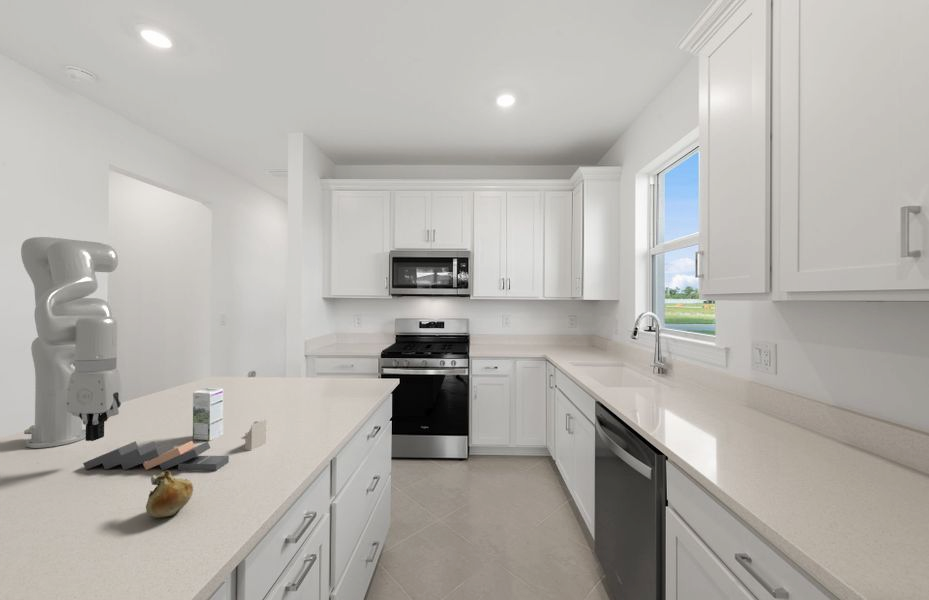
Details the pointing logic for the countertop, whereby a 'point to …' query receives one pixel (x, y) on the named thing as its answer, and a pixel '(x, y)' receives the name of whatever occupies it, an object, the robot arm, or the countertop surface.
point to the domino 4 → (169, 455)
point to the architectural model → (255, 435)
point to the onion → (168, 495)
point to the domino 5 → (185, 456)
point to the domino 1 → (110, 455)
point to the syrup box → (207, 414)
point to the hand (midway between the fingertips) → (94, 438)
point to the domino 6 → (204, 463)
